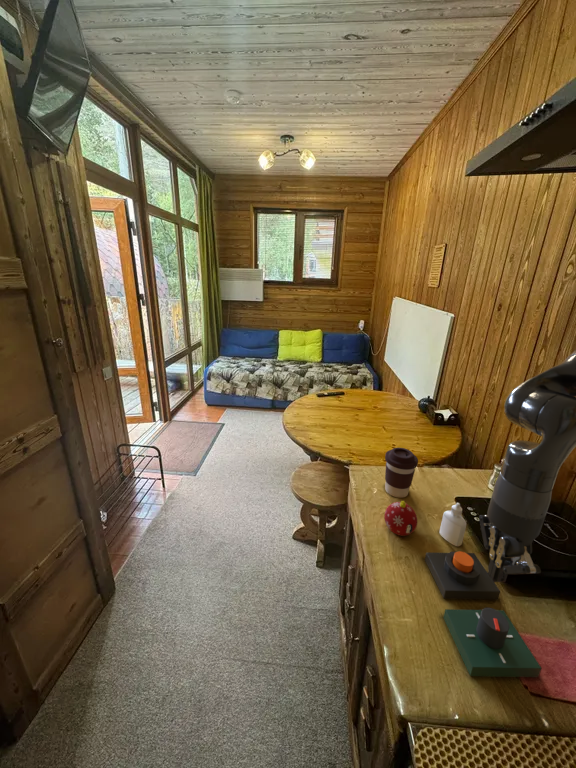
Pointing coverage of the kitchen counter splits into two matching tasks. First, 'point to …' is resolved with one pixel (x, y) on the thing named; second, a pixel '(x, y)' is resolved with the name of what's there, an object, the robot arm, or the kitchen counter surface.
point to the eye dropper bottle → (453, 525)
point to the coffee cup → (399, 471)
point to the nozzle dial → (492, 628)
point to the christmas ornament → (400, 518)
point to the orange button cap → (463, 562)
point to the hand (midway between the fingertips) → (495, 578)
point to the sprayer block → (460, 578)
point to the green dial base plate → (485, 659)
